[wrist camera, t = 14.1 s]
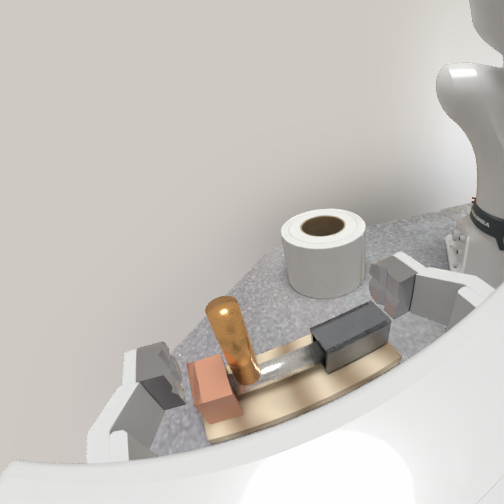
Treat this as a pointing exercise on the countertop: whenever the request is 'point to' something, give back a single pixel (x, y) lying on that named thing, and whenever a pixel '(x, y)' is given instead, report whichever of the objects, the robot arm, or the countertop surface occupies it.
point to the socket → (213, 390)
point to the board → (299, 391)
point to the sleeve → (351, 335)
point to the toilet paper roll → (325, 252)
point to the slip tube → (242, 354)
